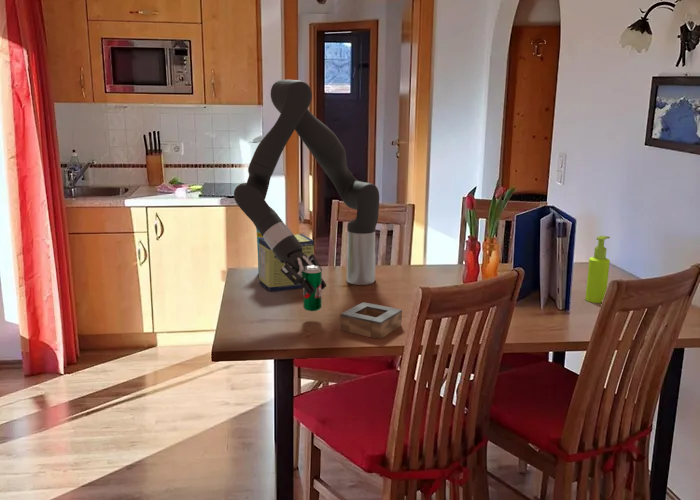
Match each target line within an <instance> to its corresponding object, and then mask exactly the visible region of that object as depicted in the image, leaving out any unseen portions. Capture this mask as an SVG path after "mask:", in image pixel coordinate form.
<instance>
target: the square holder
mask: <svg viewBox="0 0 700 500" xmlns="http://www.w3.org/2000/svg"><path fill="white" fill-rule="evenodd" d="M402 313H403V310H402V309H399V308H395V307H391V306H385V305H381V304H380V305H379V304H377V303H370V302H369V303H368V302H364V301H363V302H360V303H359V304H357V305H355V306H353V307H351V308H349V309H347V310H345V311H343V312H341V313H340V329H339V330H340V331H343V332H347V333H352V334H356V335H360V336H364V337H368V338H373V339H378V340H382V339H383V338H385V337H386V336H388V335H389V334H391V333H393V331H396V330H397V329H399V328H400V327H402V323H403V322H402V319H403V318H402V317H403V314H402ZM395 329H396V330H395Z"/></svg>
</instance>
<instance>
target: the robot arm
mask: <svg viewBox="0 0 700 500" xmlns="http://www.w3.org/2000/svg"><path fill="white" fill-rule="evenodd" d="M270 99H271V102H272V105H273V106H274V107H275V109H276V111H278V112H279V116H278V117H277V118H278V119H277V120H276V122H275V123H274V124H273V126H272V127H271V128H270V130H269V131H268V132H267V133H266V134H265V136H263V137H262V139H261V140H260V142H259V144H258V145H257V147H256V149H255V151H254V152H253V156H252V157H251V160H250V163H249V164H248V169H247V172H248V177H247V181H246V182H241V183H239V184H238V185H237V186H236V187H235V189H234V191H233V199H234V201H235V203H236V204H237V206H238V207H239V208H240V210H241V211H242V212H243V214H244V215H245V216H247V218H249V219H250V221H251V222H252V224H253V225H254V226H255V229H256V228H257V229H258V231H259V232H260V233H261V235H262V236H263V238H264V239H265V241H266V243H267V244H268V246H269V247H270V249H271V250H272V251H273V253H274V254H275V255H276V257H277V258H278V259H279V261H280V262H281V263H285V265H284V266H283V267H282V268H281V272H282V273H283V274H284V275H285V276H286V277H287V278H288V279H289V280H290V281H292V282H293V283H294V284H295V285H296V284H300V285H302V286H303V288H304V289H305V290H306V292H307V293H308V294H309V295H311V294H313V293H314V292H315V288H314V287H313V286H312V284H310V283H309V281H308V280H307V278H306V277H305V275H304V269H305V266H309V265H316V266H319V267H320V269H321V271H323V269H322V267H321V265H320V263H319V262H318V260H317V258H316V256H315V254H314V255H313V254H311V255H310V256H307V255H306V254H304V253H303V252H302V248H303V247H302V245H301V244H300V242H299V241H298V240H297V238H296V237H295V236H294V235H295V234H294V232H293V231H292V230H291V229H290V228H289V227H288V226H287V225H286V224H285V222H284V221H283V220H282V218H281V217H280V216H279V215H278V213H277V212H276V211H275V210H274V209H273V208H272V207H271V206H269V204H268V203H267V201H266V197H267V194H268V190H269V186H270V182H271V177H272V176H273V174H274V171H275V168H276V167H277V164H278V162H279V160H280V157H281V155H282V153H283V151H284V150H285V146H286V145H287V143H288V141H290V139H291V137H292V135H293V133H294V131H295V132H296V134H297V135H298V136H299V138H300V140H301V141H302V142H303V143H304V145H305V146H306V148H307V149H308V150H309V153H310V154H311V155H312V156H313V158H314V159H315V161H316V163H318V165H319V166H320V167H321V168H322V170H323V171H324V172H325V174H326V175H327V177H328V178H329V179H330V181H331V182H332V184H333V185H334V187H335V189H336V191H337V193H338V194H339V196H340V198H341V200H342V202H343V203H344V205H346V207H348V208H349V209H353V210H355V211H356V216H355V219H352V220H349V221H348V222H347V226H346V228H347V233H346V235H347V237H346V239H347V240H346V246H347V247H346V282H347V283H348V284H352V285H356V286H357V285H358V286H362V285H363V286H364V285H372V284H373V283H374V282H375V280H376V255H377V254H376V227H377V224H378V220H379V212H380V211H379V209H380V191H379V189H378V187H377V186H376V185H375V184H374V183H370V182H365V181H359V180H358V179H357V178H356V177H355V176H354V175H353V173H352V172H351V170H350V169H349V167H348V164H347V153H346V149H345V147H344V146H343V144H342V143H341V141H340V140H339V138H338V137H337V135H336V134H335V132H333V130H331V128H329V127H328V126H327V125H326V124H324V123H323V122H322V121H321V120H320V119H318V117H316V116H315V115H314V114H312V112H311V111H310V110H309V107H310V105H311V103H312V99H313V92H312V89H311V86H310V85H309V84H308V83H307V82H306V81H303V80H299V79H280V80H278V81H277V80H276V81H275V82H274V83H273V84H272V86H271V89H270ZM292 275H294V277H295V278H296V279H294V278H293V277H292ZM306 280H307V281H306ZM326 287H327V283H326V281H325V280H324V279H323V278H322V290H324V289H325V288H326ZM303 288H302V289H303Z"/></svg>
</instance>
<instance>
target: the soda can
mask: <svg viewBox="0 0 700 500" xmlns="http://www.w3.org/2000/svg"><path fill="white" fill-rule="evenodd" d="M320 267H321V266H320ZM320 267H319V266H316V265H309V266H305V269H304V275H305V277H306V278H307V280H308V281H309V283H310V284H312V286H313V287H314V288H315V292H314V293H313V294H311V295H309V294H308V293H307V292H306V290H305V289H304V288H302V289H303V290H302V294H303V296H302V297H303V298H302V299H303V302H302V303H303V304H302V305H303V306H302V307H303V309H304V310H306V311H308V312H317V311H319V310H320V309H322V304H323V303H322V301H323V300H322V298H323V297H322V291H323V289H322V279H323V278H322V277H323V274H322V271H323V270H322V271H321V269H322V268H321V269H320ZM307 280H306V281H307Z"/></svg>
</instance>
